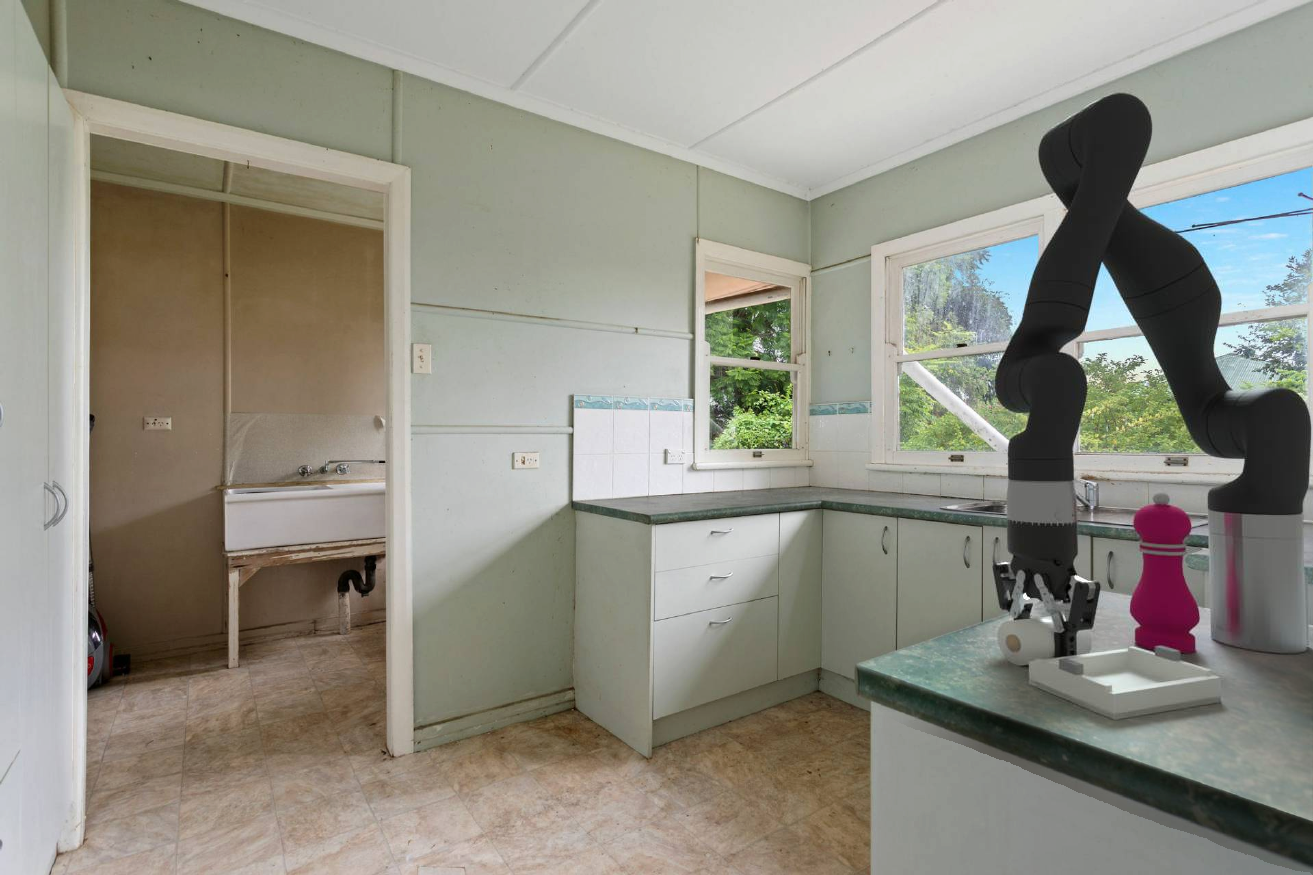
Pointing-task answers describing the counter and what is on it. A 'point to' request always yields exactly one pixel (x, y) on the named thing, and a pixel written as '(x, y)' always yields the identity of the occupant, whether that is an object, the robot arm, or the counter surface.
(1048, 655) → the paper roll
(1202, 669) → the holder
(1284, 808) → the counter surface
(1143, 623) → the pepper mill
